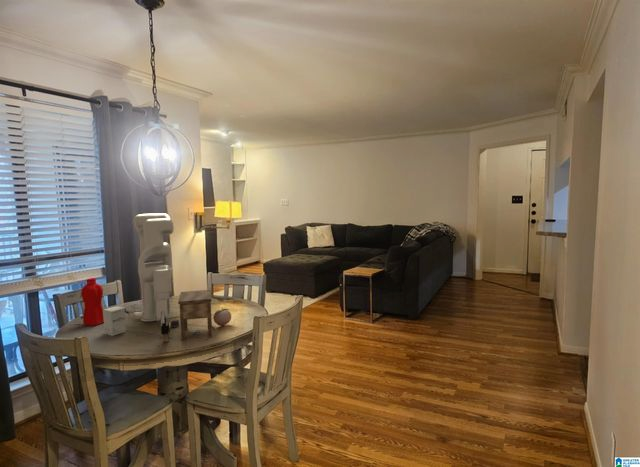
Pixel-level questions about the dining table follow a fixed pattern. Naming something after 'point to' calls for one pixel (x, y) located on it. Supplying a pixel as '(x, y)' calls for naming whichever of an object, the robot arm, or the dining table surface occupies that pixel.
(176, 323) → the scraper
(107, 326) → the supplement box
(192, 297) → the cabinet
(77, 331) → the dining table surface
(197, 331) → the token
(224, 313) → the decorative fruit
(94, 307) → the water bottle
